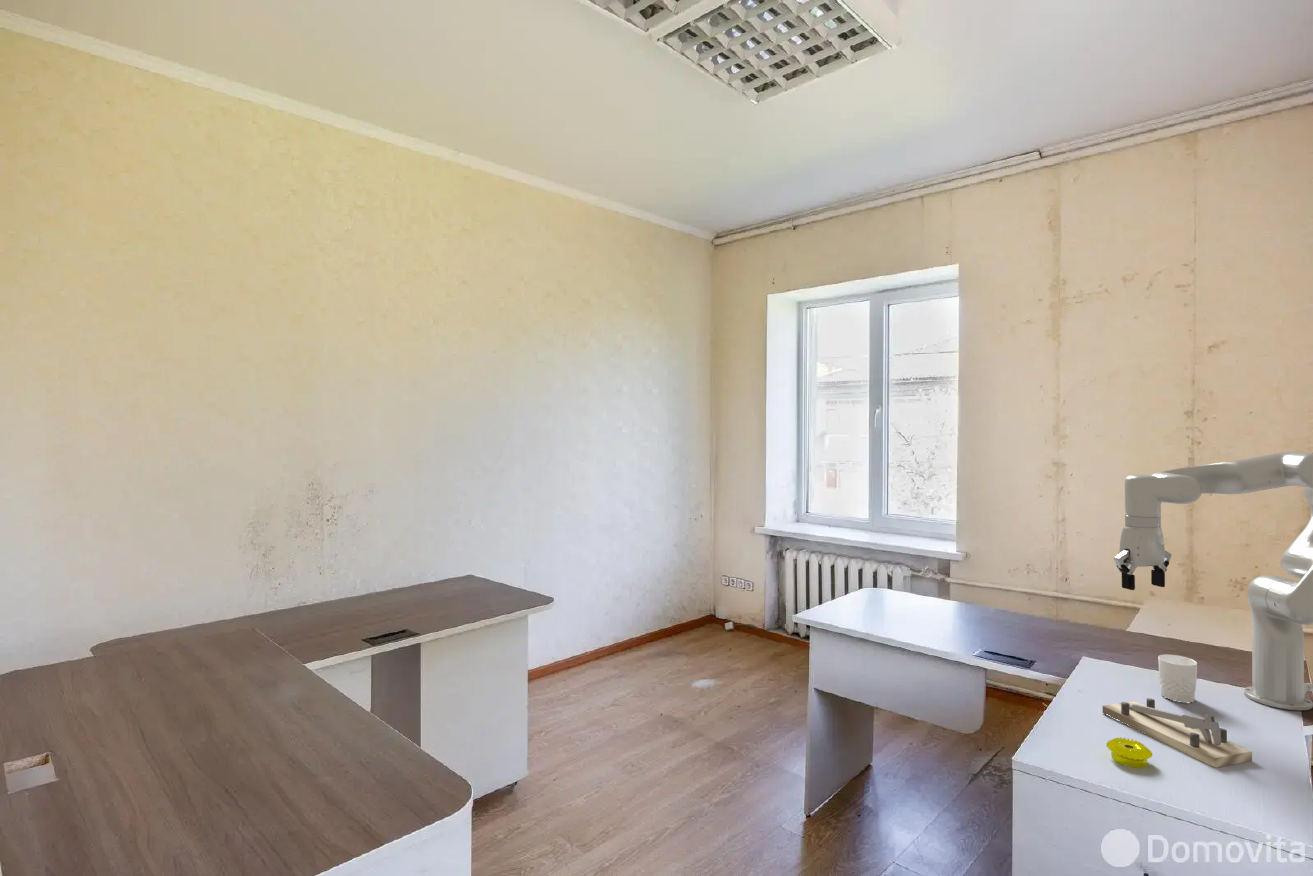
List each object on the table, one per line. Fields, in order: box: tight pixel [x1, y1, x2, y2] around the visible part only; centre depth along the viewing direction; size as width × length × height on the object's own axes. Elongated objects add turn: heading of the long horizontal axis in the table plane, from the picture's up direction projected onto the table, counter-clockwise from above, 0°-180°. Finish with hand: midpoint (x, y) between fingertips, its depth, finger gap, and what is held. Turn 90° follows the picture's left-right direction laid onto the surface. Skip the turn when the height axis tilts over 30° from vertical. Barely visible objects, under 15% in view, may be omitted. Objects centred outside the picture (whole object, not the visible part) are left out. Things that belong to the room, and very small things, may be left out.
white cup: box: [1157, 654, 1198, 704], centre depth 167 cm, size 8×8×10 cm
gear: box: [1105, 737, 1153, 769], centre depth 138 cm, size 8×4×8 cm
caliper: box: [1129, 704, 1221, 746], centre depth 148 cm, size 20×1×6 cm, turn 14°
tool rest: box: [1102, 697, 1253, 768], centre depth 148 cm, size 10×26×4 cm, turn 13°
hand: (1143, 587), depth 169 cm, fingers open, 9 cm apart
